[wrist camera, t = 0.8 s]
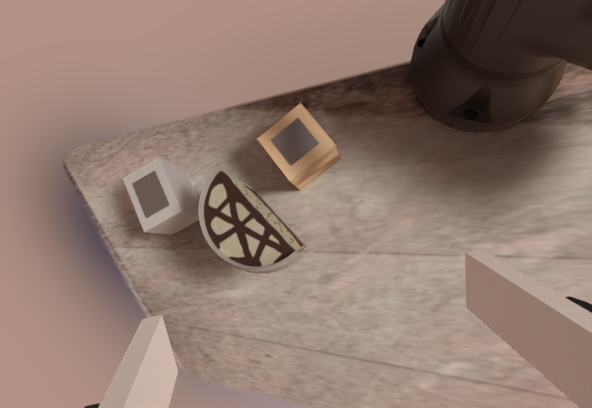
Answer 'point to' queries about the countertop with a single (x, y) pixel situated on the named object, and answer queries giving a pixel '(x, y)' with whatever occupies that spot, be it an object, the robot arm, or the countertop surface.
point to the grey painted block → (162, 197)
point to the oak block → (299, 147)
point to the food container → (245, 226)
